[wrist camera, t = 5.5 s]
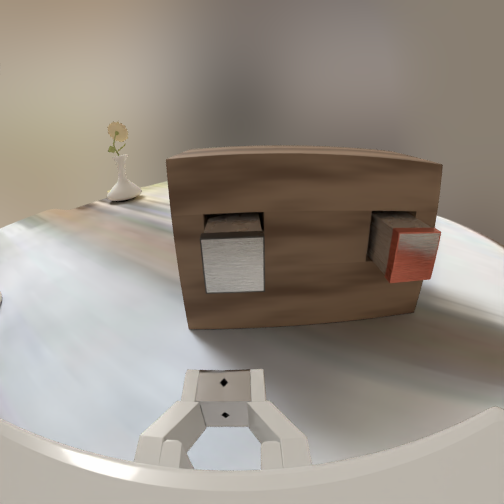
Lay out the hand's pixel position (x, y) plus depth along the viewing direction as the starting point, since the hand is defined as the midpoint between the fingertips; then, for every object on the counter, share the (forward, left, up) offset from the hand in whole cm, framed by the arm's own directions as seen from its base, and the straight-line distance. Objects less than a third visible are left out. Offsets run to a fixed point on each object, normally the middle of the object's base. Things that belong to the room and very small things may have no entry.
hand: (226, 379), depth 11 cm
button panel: (+17, +12, -9) cm, 22 cm away
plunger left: (+8, +11, -2) cm, 14 cm away
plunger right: (+19, +3, -2) cm, 20 cm away
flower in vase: (+14, +84, -9) cm, 85 cm away
